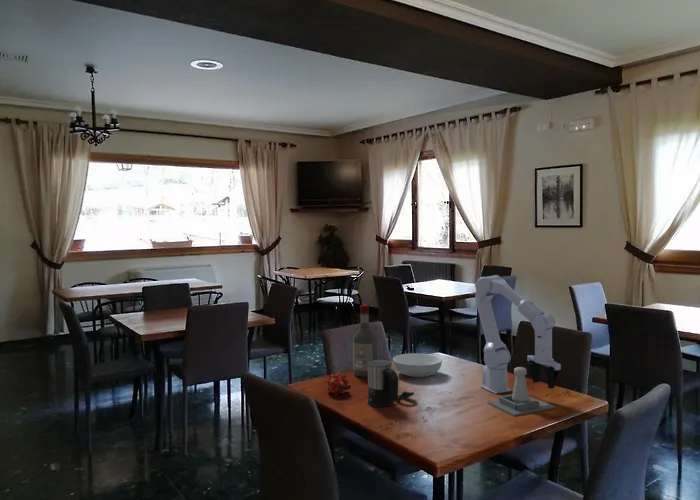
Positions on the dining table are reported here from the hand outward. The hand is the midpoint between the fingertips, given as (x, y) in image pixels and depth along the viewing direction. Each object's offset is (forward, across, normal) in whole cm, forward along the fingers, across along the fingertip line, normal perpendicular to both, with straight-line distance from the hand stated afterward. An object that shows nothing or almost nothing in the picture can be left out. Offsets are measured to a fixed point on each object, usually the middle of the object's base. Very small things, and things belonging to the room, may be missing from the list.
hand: (543, 385), depth 188 cm
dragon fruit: (+6, +41, +63) cm, 75 cm away
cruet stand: (+6, 0, +10) cm, 12 cm away
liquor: (+6, +60, +43) cm, 74 cm away
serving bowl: (+6, +50, +23) cm, 55 cm away
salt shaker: (+6, 0, +10) cm, 12 cm away
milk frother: (+6, +23, +50) cm, 55 cm away
